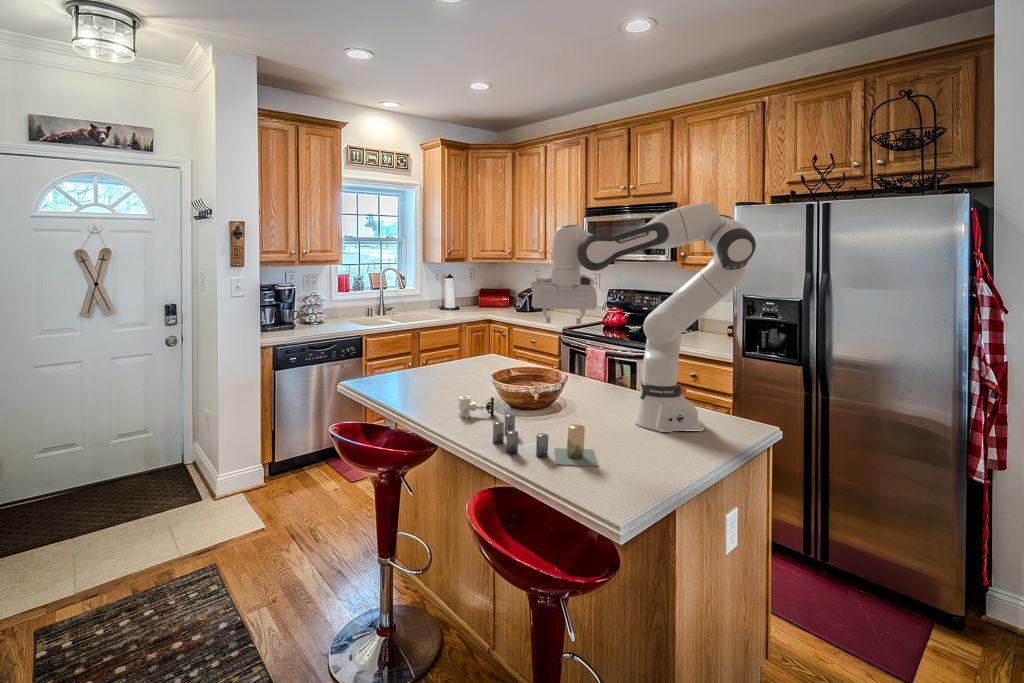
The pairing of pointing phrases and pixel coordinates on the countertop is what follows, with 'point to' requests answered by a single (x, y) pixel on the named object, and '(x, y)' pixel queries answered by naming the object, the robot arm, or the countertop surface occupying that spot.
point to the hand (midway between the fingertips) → (563, 323)
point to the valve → (473, 406)
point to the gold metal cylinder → (575, 441)
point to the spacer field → (516, 437)
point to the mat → (585, 461)
